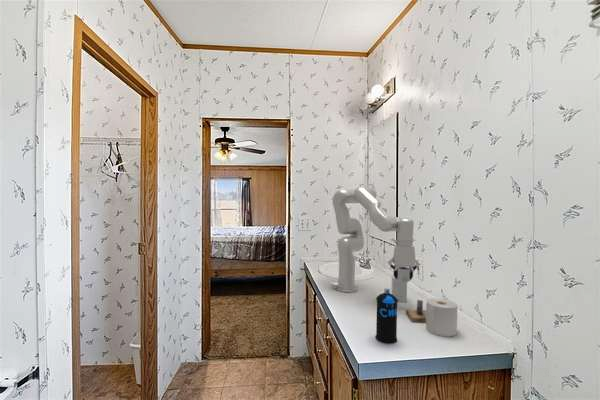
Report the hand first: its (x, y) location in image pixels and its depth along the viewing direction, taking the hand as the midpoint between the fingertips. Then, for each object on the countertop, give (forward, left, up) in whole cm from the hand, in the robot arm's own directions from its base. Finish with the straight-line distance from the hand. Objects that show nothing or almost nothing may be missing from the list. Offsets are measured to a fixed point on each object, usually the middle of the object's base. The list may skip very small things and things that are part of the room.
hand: (402, 278), depth 154 cm
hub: (0, 0, -1) cm, 1 cm away
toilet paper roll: (+9, -25, -15) cm, 30 cm away
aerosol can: (-16, -35, -15) cm, 41 cm away
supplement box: (+1, +12, -15) cm, 20 cm away
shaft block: (+4, -12, -15) cm, 20 cm away
